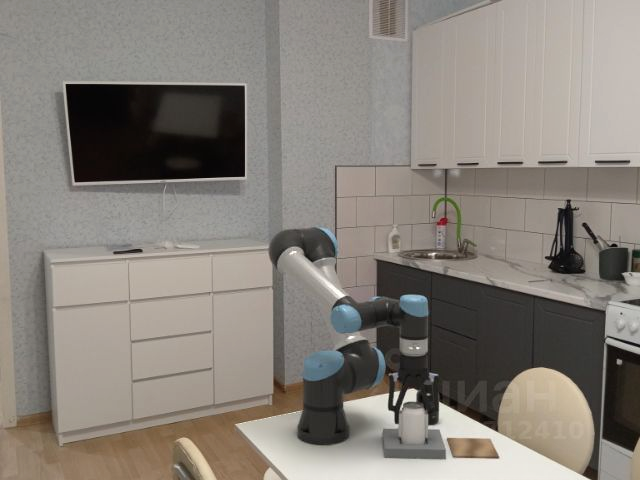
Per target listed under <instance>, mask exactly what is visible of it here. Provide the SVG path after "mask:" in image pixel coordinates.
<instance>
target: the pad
mask: <svg viewBox="0 0 640 480" xmlns="http://www.w3.org/2000/svg"><path fill="white" fill-rule="evenodd" d="M446 442H447V444H448V446H449V450H450V453H451V456H452V458H455V459H457V458H458V459H459V458H460V459H461V458H462V459H465V458H466V459H467V458H468V459H500V456H499V454H498V451H497V450H496V447H495V445H494V444H493V441H492V440H491V438H487V437H486V438H484V437H483V438H481V437H480V438H479V437H478V438H477V437H447V438H446Z"/></svg>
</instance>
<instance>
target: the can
mask: <svg viewBox="0 0 640 480" xmlns="http://www.w3.org/2000/svg"><path fill="white" fill-rule="evenodd" d="M400 410H401V412H402V437H401V442H400V444H426V442H425V409H424V405H423V404H422V403H419V402H416V401H406V402H403V403H402V407H401V409H400Z"/></svg>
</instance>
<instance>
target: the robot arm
mask: <svg viewBox="0 0 640 480" xmlns="http://www.w3.org/2000/svg"><path fill="white" fill-rule="evenodd" d="M338 248H339V245H338V241H337V238H336V236H335V235H334V233H332V232H331V230H329V229H327V228H325V227H318V226H311V227H305V228H288V229H283V230H280V231H279V232H277V233H276V234H275V235H273V237H272V238H271V240H270V242H269V245H268V257H269V261H270V262H271V264H272V266H273V267H274V268H275V270H276V271H278V272H279V273H280V274H282V275H286V276H288V277H289V278H291V280H293V282H295V283H296V284H297V285H298V286H299V287H300V288H301V289H302V290H303V291H305V293H306V294H308V296H310V298H312V299H313V300H314V301H315V302H316V303H317V304H318V305H319V308H320V311H321V314H322V317H323V318H324V321H325V323H326V326H327V329H328V332H329V334H330V337H331V339H332V343H333V345H334V348H333V349H331V350H330V349H329V350H320V351H319V350H318V351H316V352H313V353H311V354H309V355H308V356H306V357H305V358H304V360H303V362H302V373H301V375H302V411H301V413H300V418H299V420H298V424H297V427H296V429H297V430H296V431H297V432H296V434H297V438H299V439H300V441H303V442H305V443H308V444H314V445H333V444H338V443H341V442H344V441H345V440H347V439H348V438H349V437H350V435H351V434H350V433H351V431H350V424H349V421H348V418H347V415H346V412H345V408H344V400H345V399H344V396H345V395H349V394H353V393H355V392H358V391H359V392H360V391H363V390H369V389H371V388H373V387H376V386H378V385H379V384H380V383H381V382H382V381H383V379H384V377H385V373H386V361H385V356H384V354H383V353H382V351H381V350H380V349H378V348H377V347H374V346H371V343H370V342H369V339H368V338H366V337H364V336H362V334H361V333H360V332H361V331H366V330H371V329H378V328H381V327H382V328H383V327H387V326H388V327H393V328H396V329H399V351H400V353H399V368H398V370H397V372H393V373H392V372H389V373H388V375H387V377H388V380H389V387H388V399H387V410H388V411H389V412H393V416H394V417H393V418H394V420H393V421H394V424H395V425H397V426H398V428H397V429H398V434H399V437H402V412H401V410H402V406H403V403H404V399H405V396H406V393H407V391H408V390H409V388H419V390H421V393H422V396H423V399H424V402H425V405H426V408H427V411H425V438H428V429H429V426H431V424H432V414H433V412H438V411H439V412H440V399H439V400H438V393H439V392H438V391H439V390H438V383H439V380H440V377H439V374H438V373H433V372H430V371H429V368H428V365H429V364H428V360H429V359H428V358H429V356H428V354H427V353H428V351H429V349H428V348H429V347H428V345H429V343H428V342H429V335H428V330H429V328H428V327H429V313H430V312H429V305H428V303H429V302H428V299H427V297H425V296H424V295H420V294H404V295H401V296H400V297H399V299H394V298H390V297H387V296H374V297H372V298H370V300H368V301H362V302H361V301H360V302H358V301H357V300H355V299H354V298H353V297H352V296H351V295H349V294H348V293H347V292H346V291H345V290H344V289H343V287H342V284H341V282H340V280H339V277H338V275H337V272H336V269H335V265H336V263H337V257H338V252H339V250H338ZM398 378H399V379H400V380H401V382H402V384H401V388H400V389H399V390H400V391H399V393H398V396H397V400H396V402H395V404H394V398H395V397H394V396H395V387H396V386H395V385H396V383H395V382H397V381H398ZM428 379H429V380H430V381H431V382H432V391H433V404H434V406H431V405H430V402H429V399H428V396H427V393H426V391H425V388H424V385H423V384H424V382H425V381H426V380H428Z"/></svg>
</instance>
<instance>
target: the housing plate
mask: <svg viewBox="0 0 640 480" xmlns="http://www.w3.org/2000/svg"><path fill="white" fill-rule="evenodd" d="M382 443H383V453H384V455H383V456H384V458H385V459H422V460H425V459H426V460H427V459H428V460H431V459H432V460H434V459H435V460H436V459H437V460H441V459H442V460H446V459H447V448H446V445H445V443H444V439H443V436H442V433H441V430H440V429H439V428H438V429H437V428H436V429H435V428H434V429H433V428H432V429H431V428H428V438H425V444H401V437H399V434H398V428H382Z"/></svg>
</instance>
